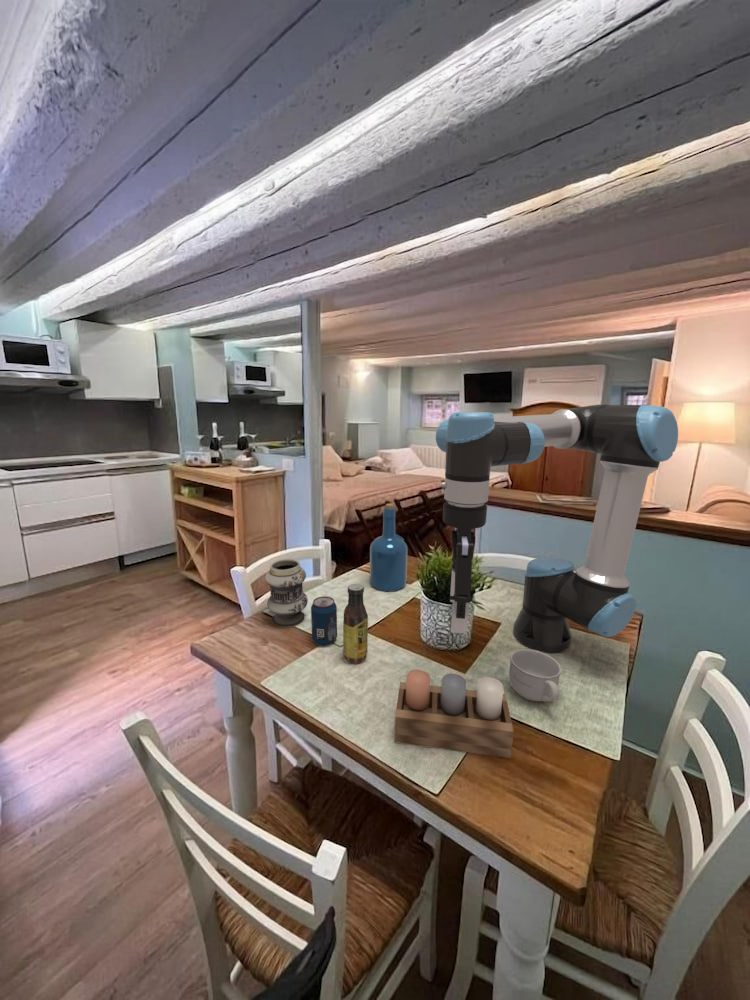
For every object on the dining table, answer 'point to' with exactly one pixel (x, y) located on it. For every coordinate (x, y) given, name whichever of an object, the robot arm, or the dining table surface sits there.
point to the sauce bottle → (355, 626)
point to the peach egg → (417, 690)
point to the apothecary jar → (286, 593)
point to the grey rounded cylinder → (453, 694)
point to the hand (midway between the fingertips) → (457, 615)
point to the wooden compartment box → (453, 726)
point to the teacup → (534, 675)
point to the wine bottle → (388, 556)
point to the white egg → (489, 698)
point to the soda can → (324, 621)
